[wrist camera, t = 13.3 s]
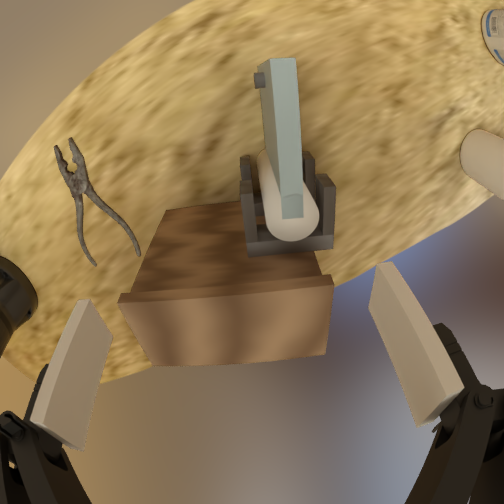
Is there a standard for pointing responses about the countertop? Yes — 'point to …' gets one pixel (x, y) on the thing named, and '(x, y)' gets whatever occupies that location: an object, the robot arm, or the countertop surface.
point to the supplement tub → (494, 33)
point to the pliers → (82, 184)
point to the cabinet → (233, 283)
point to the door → (283, 153)
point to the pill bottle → (484, 160)
